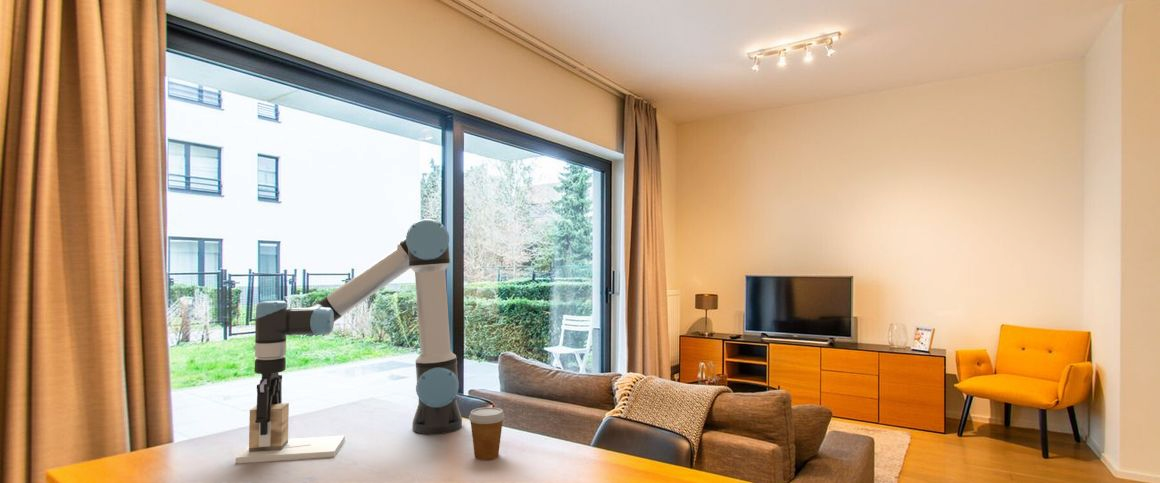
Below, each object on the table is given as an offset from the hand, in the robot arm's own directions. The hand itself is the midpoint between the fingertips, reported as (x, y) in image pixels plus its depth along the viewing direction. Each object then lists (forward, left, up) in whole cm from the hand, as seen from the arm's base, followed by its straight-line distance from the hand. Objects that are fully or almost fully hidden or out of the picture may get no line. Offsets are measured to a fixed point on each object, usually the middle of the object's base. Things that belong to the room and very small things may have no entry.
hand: (268, 442), depth 156 cm
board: (-6, 0, -3) cm, 7 cm away
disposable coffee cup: (-58, +15, -3) cm, 60 cm away
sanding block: (0, 0, -1) cm, 1 cm away
